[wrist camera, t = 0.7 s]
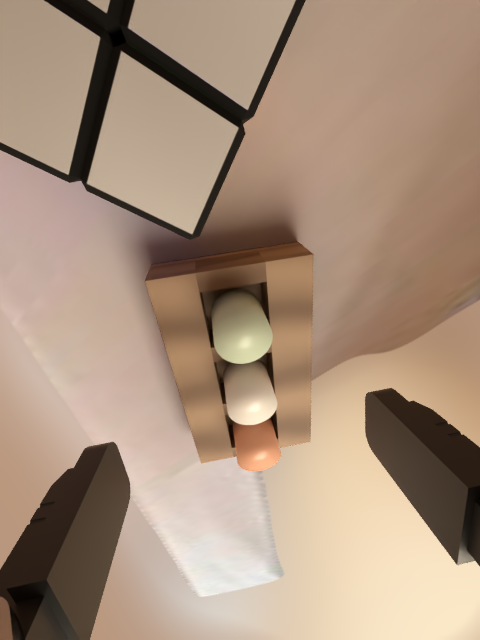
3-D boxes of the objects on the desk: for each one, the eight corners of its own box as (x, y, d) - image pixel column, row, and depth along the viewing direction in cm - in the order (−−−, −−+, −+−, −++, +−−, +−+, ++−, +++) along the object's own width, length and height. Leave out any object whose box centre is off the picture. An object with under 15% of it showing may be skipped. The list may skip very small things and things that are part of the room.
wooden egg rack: (151, 264, 23) (144, 281, 20) (298, 242, 23) (313, 254, 20) (200, 435, 33) (201, 463, 30) (300, 416, 34) (310, 441, 31)
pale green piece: (207, 293, 21) (209, 319, 18) (258, 285, 22) (271, 309, 18) (215, 337, 23) (218, 368, 20) (262, 329, 24) (274, 358, 20)
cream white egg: (220, 360, 25) (223, 393, 21) (265, 352, 25) (276, 384, 21) (226, 394, 27) (230, 429, 23) (267, 386, 27) (278, 419, 23)
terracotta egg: (229, 412, 28) (234, 448, 24) (269, 404, 28) (279, 439, 25) (234, 438, 30) (240, 474, 27) (271, 431, 30) (281, 466, 27)
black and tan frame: (48, 134, 18) (-91, 110, 9) (89, -81, 14) (-84, -471, 5) (196, 210, 21) (197, 245, 12) (262, 54, 17) (329, -51, 9)
